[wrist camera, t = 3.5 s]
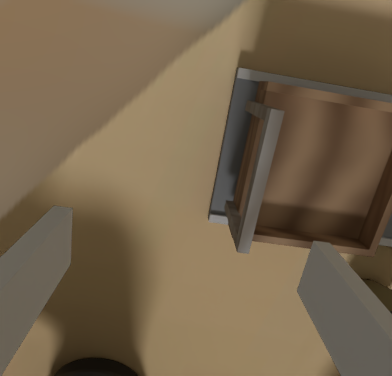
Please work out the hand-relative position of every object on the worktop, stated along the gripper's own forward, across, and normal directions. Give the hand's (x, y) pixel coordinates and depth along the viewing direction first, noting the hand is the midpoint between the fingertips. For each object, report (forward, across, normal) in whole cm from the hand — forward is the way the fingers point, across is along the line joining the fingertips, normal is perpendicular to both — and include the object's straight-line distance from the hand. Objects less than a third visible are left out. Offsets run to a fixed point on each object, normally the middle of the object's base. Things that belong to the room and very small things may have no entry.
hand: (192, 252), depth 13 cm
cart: (+23, -14, 0) cm, 27 cm away
